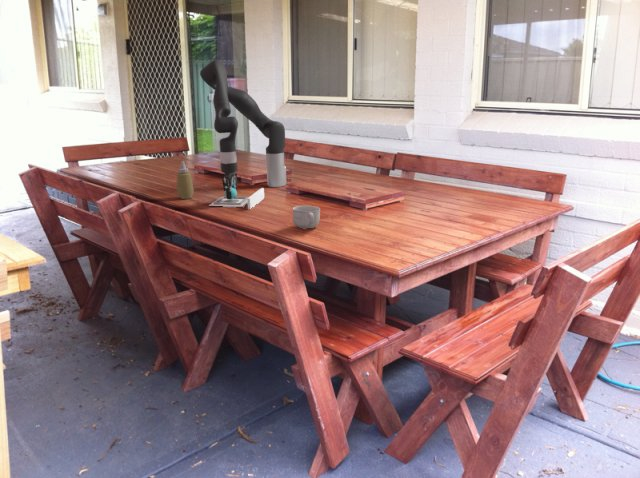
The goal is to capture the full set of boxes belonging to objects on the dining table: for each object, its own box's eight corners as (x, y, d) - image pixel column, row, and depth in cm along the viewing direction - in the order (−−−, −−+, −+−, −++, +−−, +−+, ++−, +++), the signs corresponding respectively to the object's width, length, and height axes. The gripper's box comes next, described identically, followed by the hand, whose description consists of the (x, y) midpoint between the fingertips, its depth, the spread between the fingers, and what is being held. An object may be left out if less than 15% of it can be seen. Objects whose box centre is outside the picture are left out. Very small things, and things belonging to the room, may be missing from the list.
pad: (221, 198, 288) (221, 195, 288) (253, 199, 285) (253, 196, 285) (209, 206, 273) (208, 203, 273) (242, 207, 270) (242, 204, 270)
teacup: (292, 224, 241) (291, 205, 239) (319, 223, 242) (319, 203, 239) (294, 234, 228) (293, 213, 225) (322, 232, 229) (322, 212, 226)
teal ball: (231, 197, 282) (231, 185, 281) (239, 198, 279) (238, 187, 277) (222, 199, 278) (222, 187, 277) (230, 201, 275) (229, 189, 273)
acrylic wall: (261, 198, 287) (261, 187, 286) (264, 198, 287) (263, 187, 285) (247, 209, 267) (247, 198, 265) (250, 209, 266) (249, 198, 265)
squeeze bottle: (197, 196, 294) (194, 160, 289) (189, 200, 287) (185, 162, 281) (183, 195, 296) (179, 159, 291) (174, 199, 289) (170, 162, 284)
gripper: (226, 158, 281) (228, 194, 286) (215, 164, 267) (218, 201, 272) (241, 158, 279) (243, 194, 284) (231, 164, 266) (233, 201, 271)
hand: (231, 197), depth 278 cm, fingers closed on teal ball, 5 cm apart
